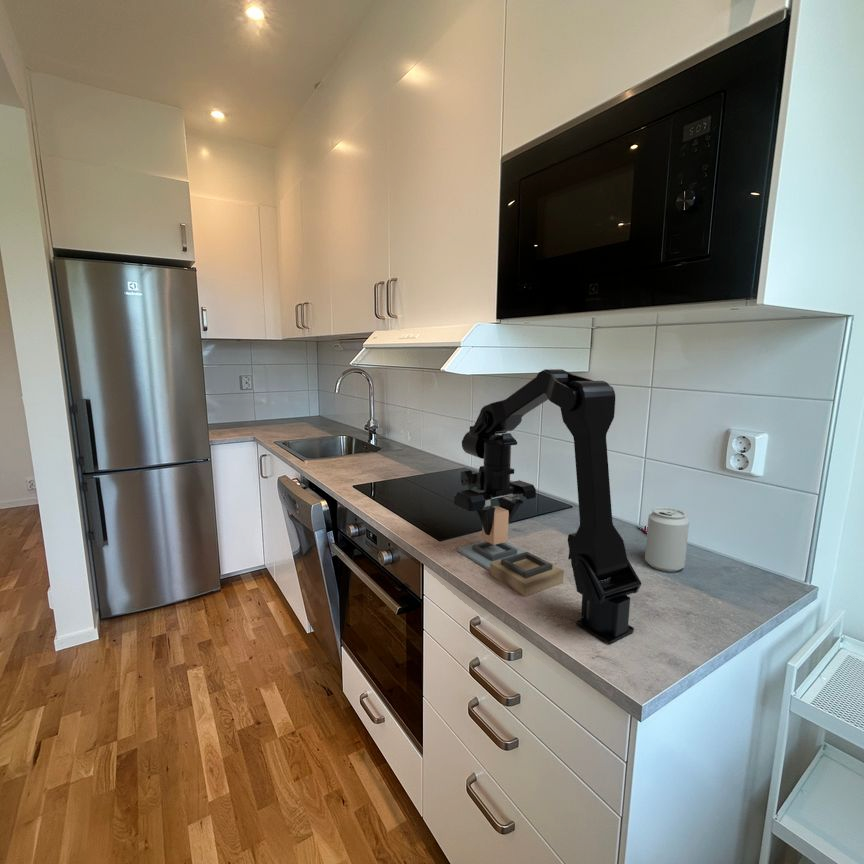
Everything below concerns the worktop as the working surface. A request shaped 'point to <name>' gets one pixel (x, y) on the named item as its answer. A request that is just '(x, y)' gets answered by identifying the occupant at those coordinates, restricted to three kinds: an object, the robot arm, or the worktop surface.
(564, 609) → the worktop surface
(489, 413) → the robot arm
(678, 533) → the can
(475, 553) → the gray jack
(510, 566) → the beige square socket
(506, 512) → the plug
